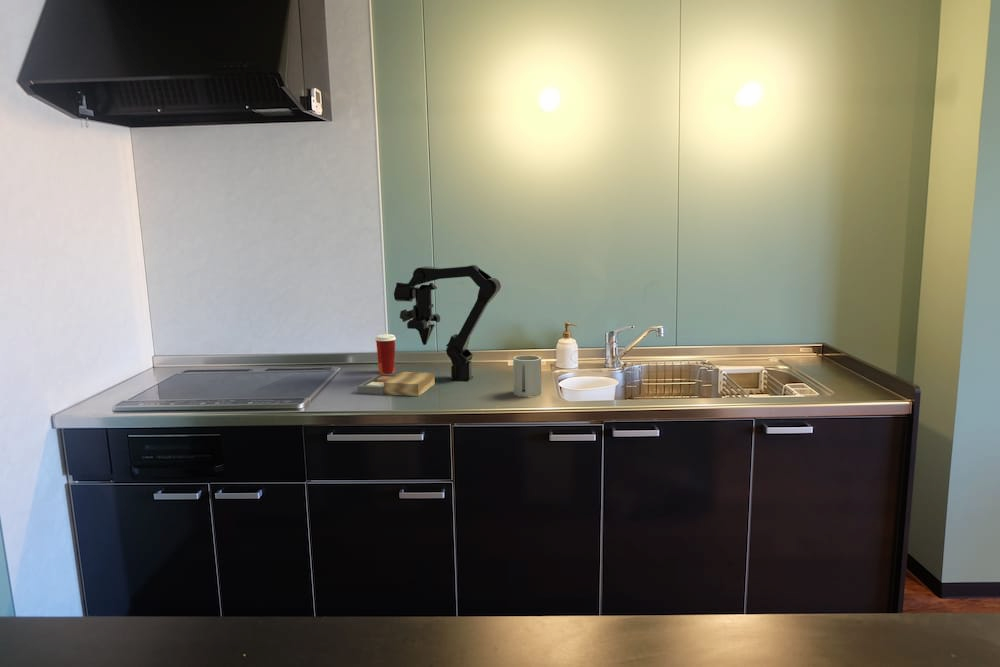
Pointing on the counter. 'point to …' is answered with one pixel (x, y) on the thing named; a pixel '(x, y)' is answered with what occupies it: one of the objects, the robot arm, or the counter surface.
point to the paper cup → (386, 353)
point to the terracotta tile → (383, 378)
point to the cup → (527, 375)
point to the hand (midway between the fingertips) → (424, 344)
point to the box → (372, 389)
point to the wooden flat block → (409, 383)
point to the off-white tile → (376, 384)
